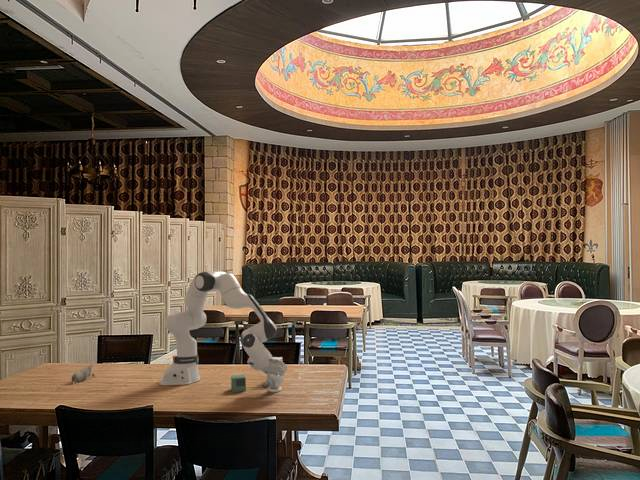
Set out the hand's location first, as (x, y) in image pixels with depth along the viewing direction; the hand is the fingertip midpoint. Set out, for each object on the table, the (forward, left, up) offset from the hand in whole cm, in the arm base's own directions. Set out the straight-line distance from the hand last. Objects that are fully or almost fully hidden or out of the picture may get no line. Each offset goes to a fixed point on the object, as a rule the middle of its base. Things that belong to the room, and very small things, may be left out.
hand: (274, 373), depth 262 cm
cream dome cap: (0, 0, -8) cm, 8 cm away
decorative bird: (-103, +57, -9) cm, 118 cm away
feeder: (-18, +7, -8) cm, 21 cm away
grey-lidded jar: (0, 0, -7) cm, 7 cm away
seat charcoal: (-1, +9, -8) cm, 12 cm away
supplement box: (+3, +18, -9) cm, 20 cm away
